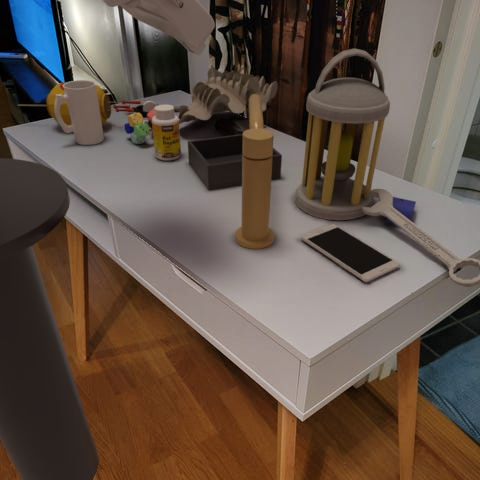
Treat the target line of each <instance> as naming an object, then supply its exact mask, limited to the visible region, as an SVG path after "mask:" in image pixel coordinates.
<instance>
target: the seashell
mask: <svg viewBox="0 0 480 480" xmlns="http://www.w3.org/2000/svg"><path fill="white" fill-rule="evenodd" d="M278 89H279V84H278V81H277V80H275V81H273V82H271V83H270V84H269V83H268V82H266V79H265V77H264V76H263V75H262V76H261V77H260V75H253V74H248V73H242V72H241V73H240V71H235V70H233V69H232V70H231V71H228V70H224V71H219V70H218V69H215V70H214V69H211V68H209V69H208V71H207V79H206V80H205V81H198V82H197V83H196V84H194V87H193V88H192V95H191V101H192V102H191V104H190V105H185V104H182V105H180V106H181V108H180V111H179V114H178V119H179V125H181V124H183V123H190V122H192V121H196V120H197V119H199V120H201V121H208V120H209V119H211V118H212V116H213V114H220V113H224V112H228V111H231V112H232V113H233V114H242V113H243V112H244V111H246V107H248V100H249V98H250V96H251V95H252V94H258V95H259V96H260V98H261V101H262V112H265V111H266V110H267V106H271V105H272V99H273V98H275V97H276V95H277V93H278Z"/></svg>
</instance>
